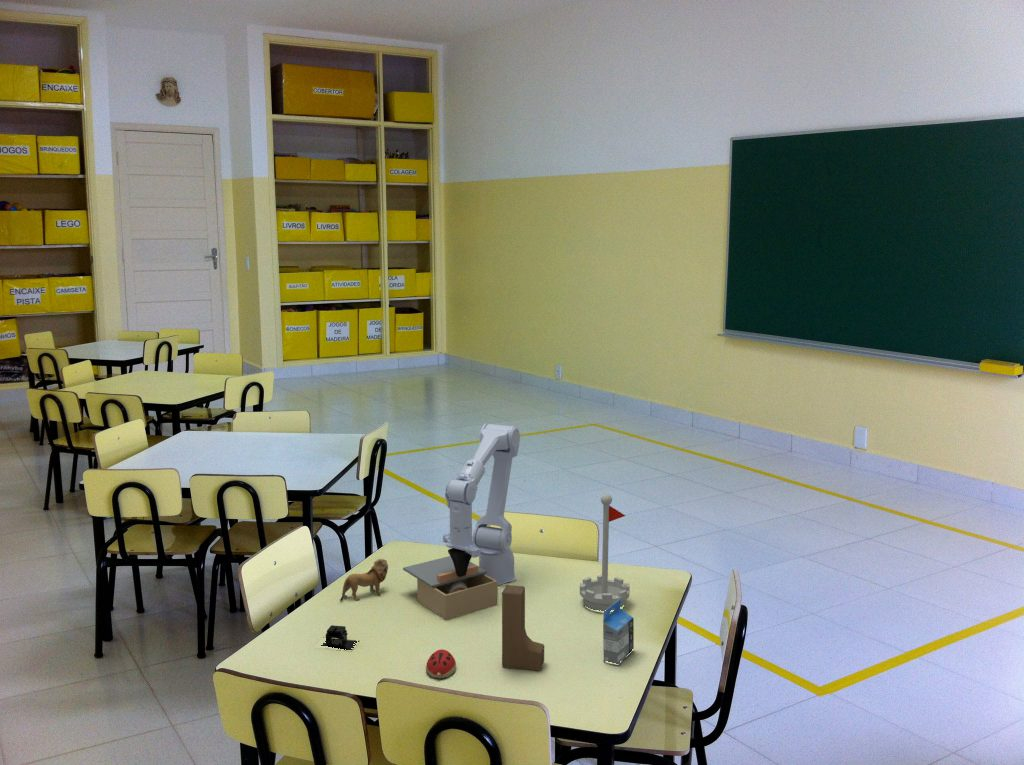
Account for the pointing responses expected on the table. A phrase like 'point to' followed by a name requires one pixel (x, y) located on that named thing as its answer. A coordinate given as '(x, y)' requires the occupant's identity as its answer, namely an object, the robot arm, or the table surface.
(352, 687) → the table surface
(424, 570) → the sliding lid
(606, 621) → the label tape box
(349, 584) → the lion figurine
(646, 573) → the table surface
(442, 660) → the ladybug figurine
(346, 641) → the black piece
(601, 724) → the table surface
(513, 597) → the wooden block
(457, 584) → the roller toy
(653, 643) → the table surface
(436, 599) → the box
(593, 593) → the flag stand
